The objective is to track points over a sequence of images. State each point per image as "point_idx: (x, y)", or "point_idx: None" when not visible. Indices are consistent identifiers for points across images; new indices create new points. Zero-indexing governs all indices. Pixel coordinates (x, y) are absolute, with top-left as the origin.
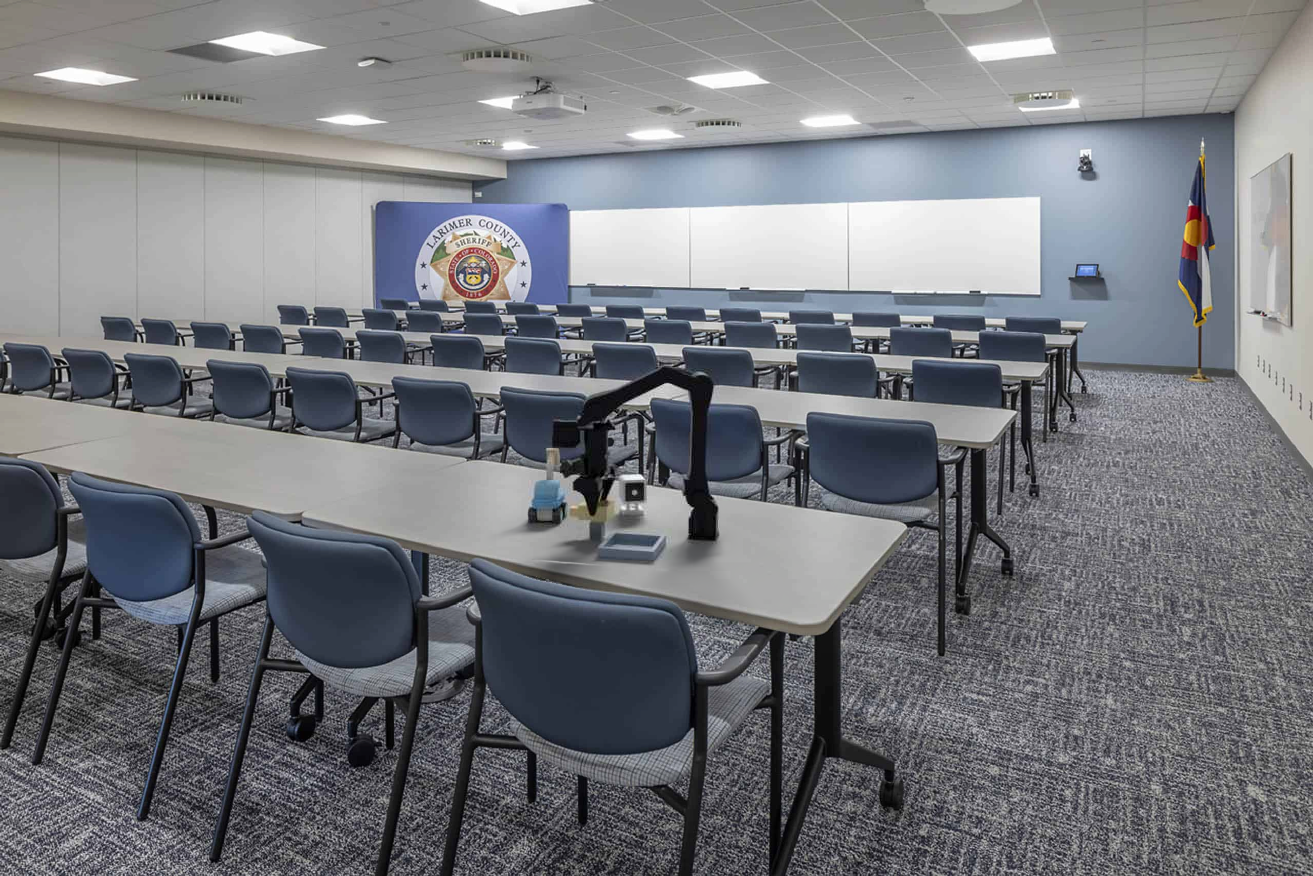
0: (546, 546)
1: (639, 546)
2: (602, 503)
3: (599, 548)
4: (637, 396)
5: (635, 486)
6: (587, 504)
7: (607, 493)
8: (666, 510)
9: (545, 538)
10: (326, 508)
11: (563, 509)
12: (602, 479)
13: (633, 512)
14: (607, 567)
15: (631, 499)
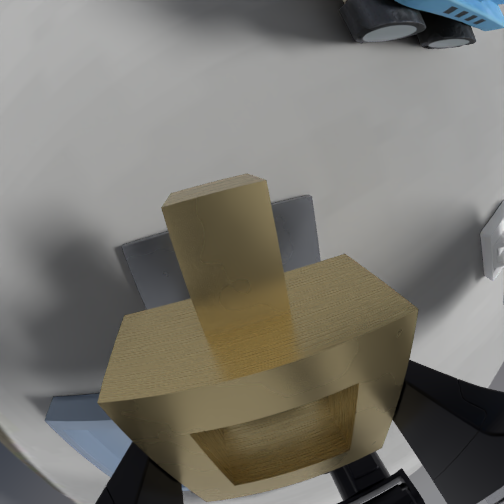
0: (16, 178)
1: None
2: (344, 422)
3: (49, 423)
4: None
5: None
6: (113, 483)
7: (415, 453)
8: (500, 296)
9: (106, 85)
10: None
11: (437, 33)
12: (498, 488)
13: (489, 259)
14: (40, 425)
15: None
